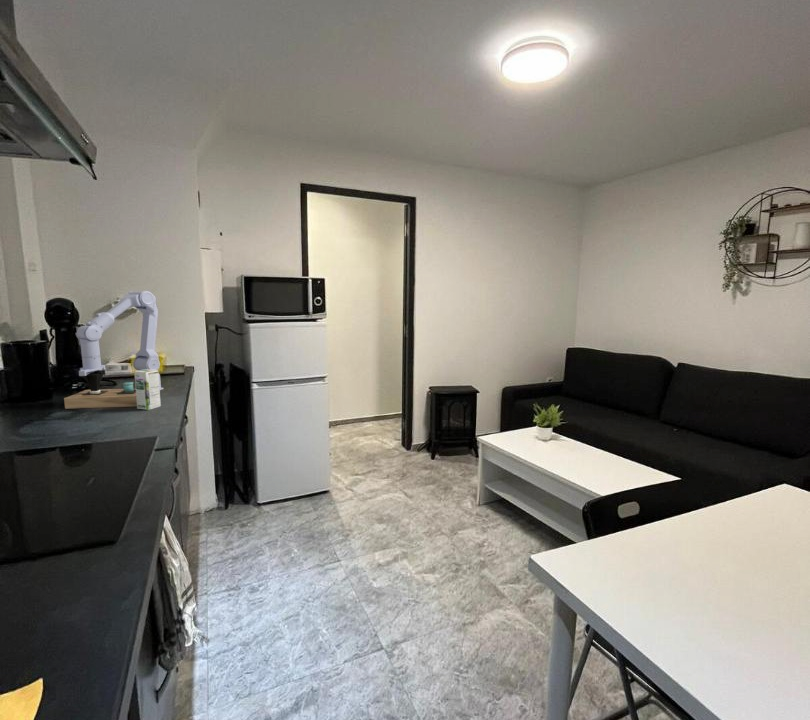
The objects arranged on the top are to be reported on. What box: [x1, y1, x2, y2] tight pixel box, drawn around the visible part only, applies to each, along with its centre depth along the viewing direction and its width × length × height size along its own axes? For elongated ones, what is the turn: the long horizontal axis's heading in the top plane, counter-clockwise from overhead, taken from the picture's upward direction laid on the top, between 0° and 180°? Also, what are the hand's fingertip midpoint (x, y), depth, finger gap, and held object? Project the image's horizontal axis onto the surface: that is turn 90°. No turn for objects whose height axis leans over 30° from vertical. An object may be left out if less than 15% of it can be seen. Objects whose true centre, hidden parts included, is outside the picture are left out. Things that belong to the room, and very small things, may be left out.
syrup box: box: [133, 369, 162, 411], centre depth 155 cm, size 6×6×14 cm
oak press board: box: [63, 388, 137, 410], centre depth 163 cm, size 14×26×4 cm, turn 100°
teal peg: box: [122, 381, 135, 393], centre depth 163 cm, size 3×3×4 cm
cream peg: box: [90, 389, 101, 394], centre depth 162 cm, size 3×3×4 cm
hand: (94, 390), depth 161 cm, fingers closed
